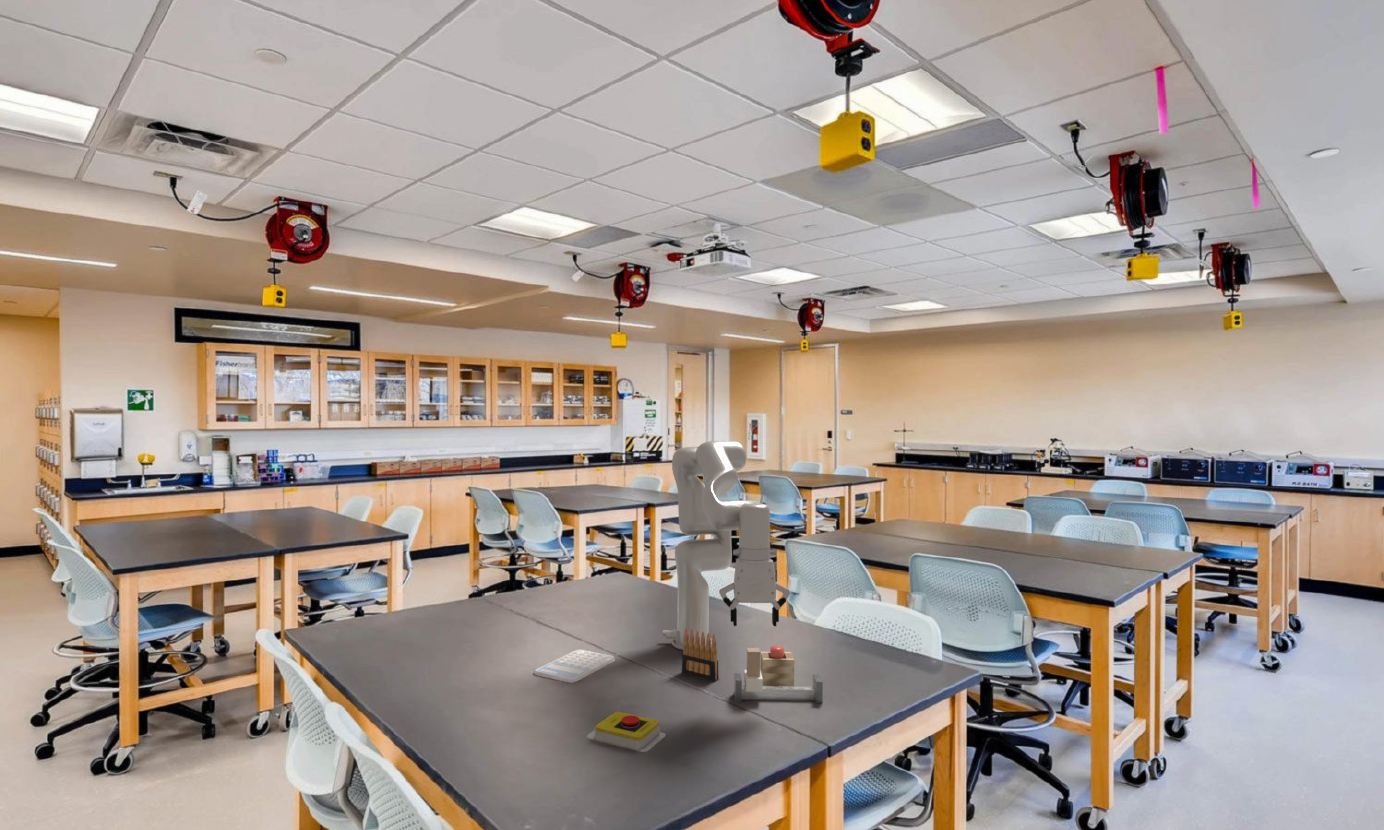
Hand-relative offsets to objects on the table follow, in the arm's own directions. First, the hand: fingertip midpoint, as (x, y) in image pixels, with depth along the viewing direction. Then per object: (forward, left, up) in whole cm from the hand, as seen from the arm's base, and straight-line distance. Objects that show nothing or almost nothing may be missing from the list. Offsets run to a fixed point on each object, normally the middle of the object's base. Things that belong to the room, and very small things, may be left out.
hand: (754, 624), depth 168 cm
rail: (+6, 0, -18) cm, 19 cm away
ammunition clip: (-13, +14, -18) cm, 27 cm away
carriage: (0, 0, -15) cm, 15 cm away
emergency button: (-29, -21, -19) cm, 40 cm away
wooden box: (+7, +10, -18) cm, 22 cm away
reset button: (+7, +10, -13) cm, 18 cm away
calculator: (-47, +20, -19) cm, 55 cm away
